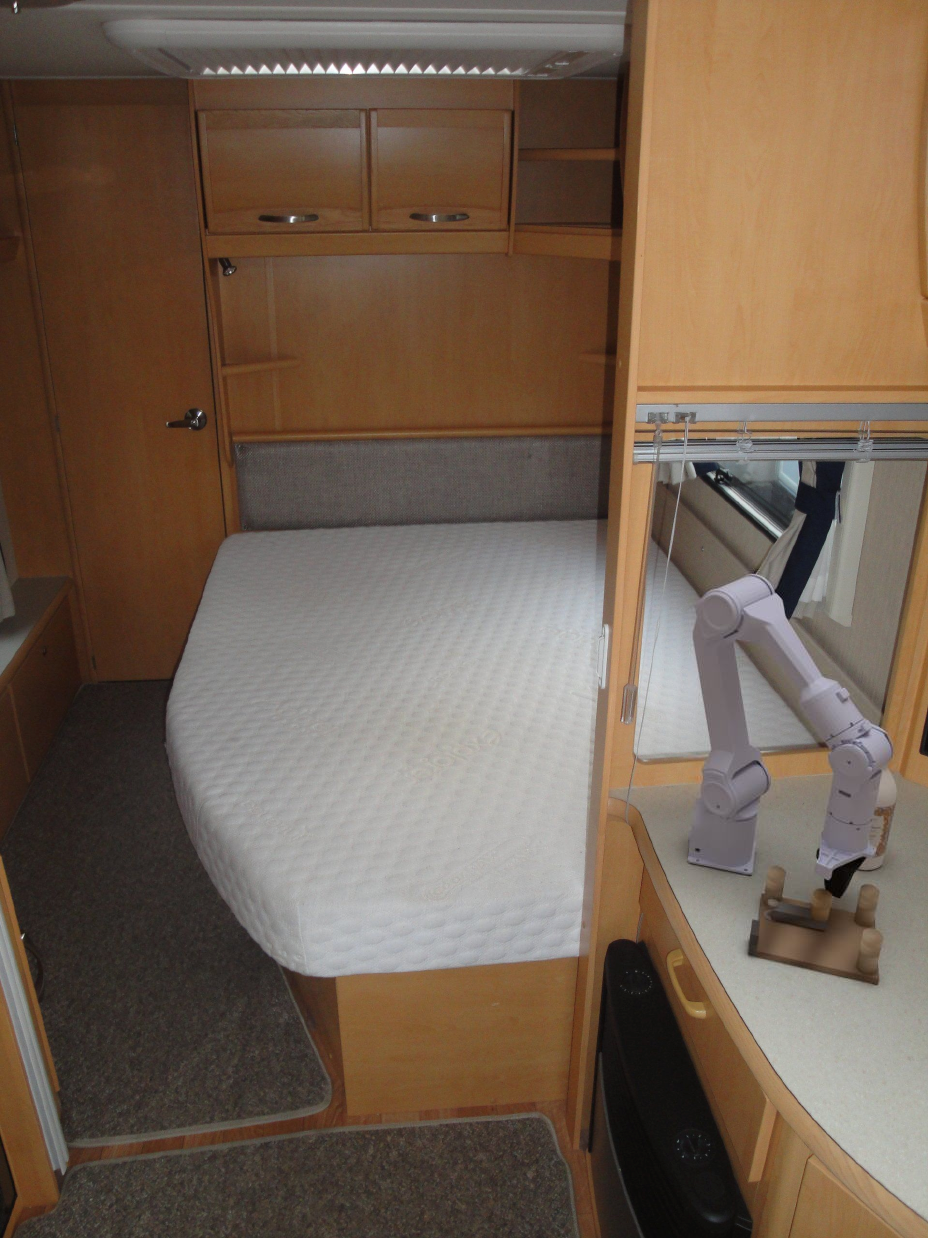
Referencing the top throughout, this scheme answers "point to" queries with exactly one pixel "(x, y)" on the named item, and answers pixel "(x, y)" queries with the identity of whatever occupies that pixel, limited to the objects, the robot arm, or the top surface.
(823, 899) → the grey bar with knob
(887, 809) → the bath foam
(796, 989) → the top surface
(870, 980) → the stool board
